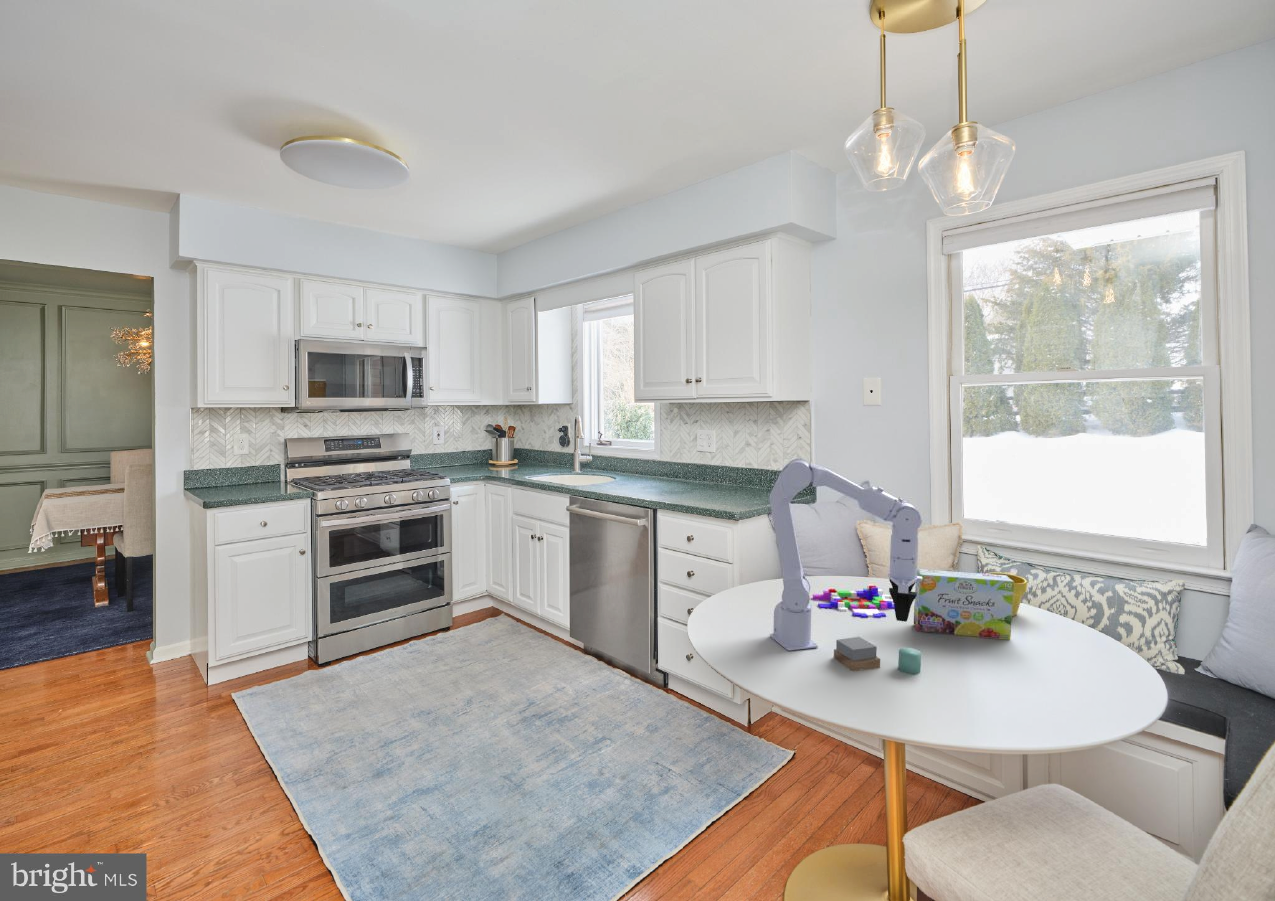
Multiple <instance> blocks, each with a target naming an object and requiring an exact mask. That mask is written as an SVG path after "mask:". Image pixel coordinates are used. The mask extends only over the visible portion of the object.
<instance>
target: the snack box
mask: <svg viewBox="0 0 1275 901" xmlns="http://www.w3.org/2000/svg"><path fill="white" fill-rule="evenodd" d="M917 576H921V577H922V581H917V582H916V583H915V585H914V586H915V587H914V590H915V591H914V592H917V596H916V598H915V599H914V606H913V625H914V627H915V629H916V631H917V632H924V633H925V632H926V633H936V634H946V635H956V636H966V637H967V636H968V637H976V638H977V637H978V638H987V639H995V640H996V639H998V640H1006V641H1007V640H1011V637H1012V636H1011V633H1012V620H1013V619H1012V618H1013V616H1012V609H1013V595H1014V581H1013V580H1011V579H1010V578H1009V577H1008V576H1006V575H994V574H986V573H978V572H977V573H976V572H966V571H965V572H963V571H948V570H934V569H922V568H917Z"/></svg>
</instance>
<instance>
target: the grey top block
mask: <svg viewBox="0 0 1275 901" xmlns="http://www.w3.org/2000/svg"><path fill="white" fill-rule="evenodd" d="M835 641H836V648H835V649H836V651H838V652H839V653H841V654H842V655H844V656H846V657H847V658H849V659H850V660H852V661H857V660H864V659H871V658H876V656H877V645H875V644H873V643H871V642H870V641H868V640H866V639H864V638H862V637H860V636H855V637H849V638H840V639H836V640H835Z"/></svg>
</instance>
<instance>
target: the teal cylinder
mask: <svg viewBox="0 0 1275 901" xmlns="http://www.w3.org/2000/svg"><path fill="white" fill-rule="evenodd" d="M897 661H898V665H897V668H898V670H899V671H900V672H902V673H905V674H910V675H918V674H920V673H921V663H922V653H921V651H919V650H918V649H915V648H911V647H901V648H899V649H898V659H897Z"/></svg>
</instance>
